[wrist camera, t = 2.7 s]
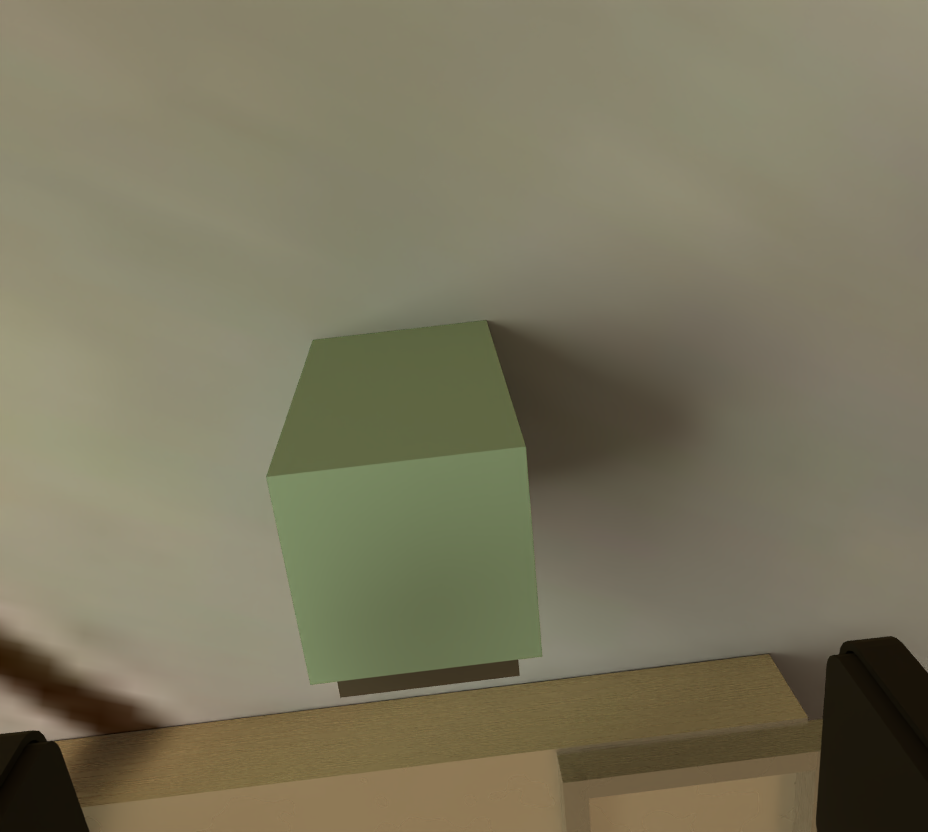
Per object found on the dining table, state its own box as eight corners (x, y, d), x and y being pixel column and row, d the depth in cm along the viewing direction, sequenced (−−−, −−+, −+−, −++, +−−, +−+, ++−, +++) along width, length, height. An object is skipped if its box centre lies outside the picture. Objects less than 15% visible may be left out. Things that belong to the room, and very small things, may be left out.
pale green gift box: (343, 514, 21) (316, 712, 15) (312, 339, 19) (266, 476, 13) (502, 496, 21) (544, 684, 15) (486, 319, 19) (525, 446, 13)
